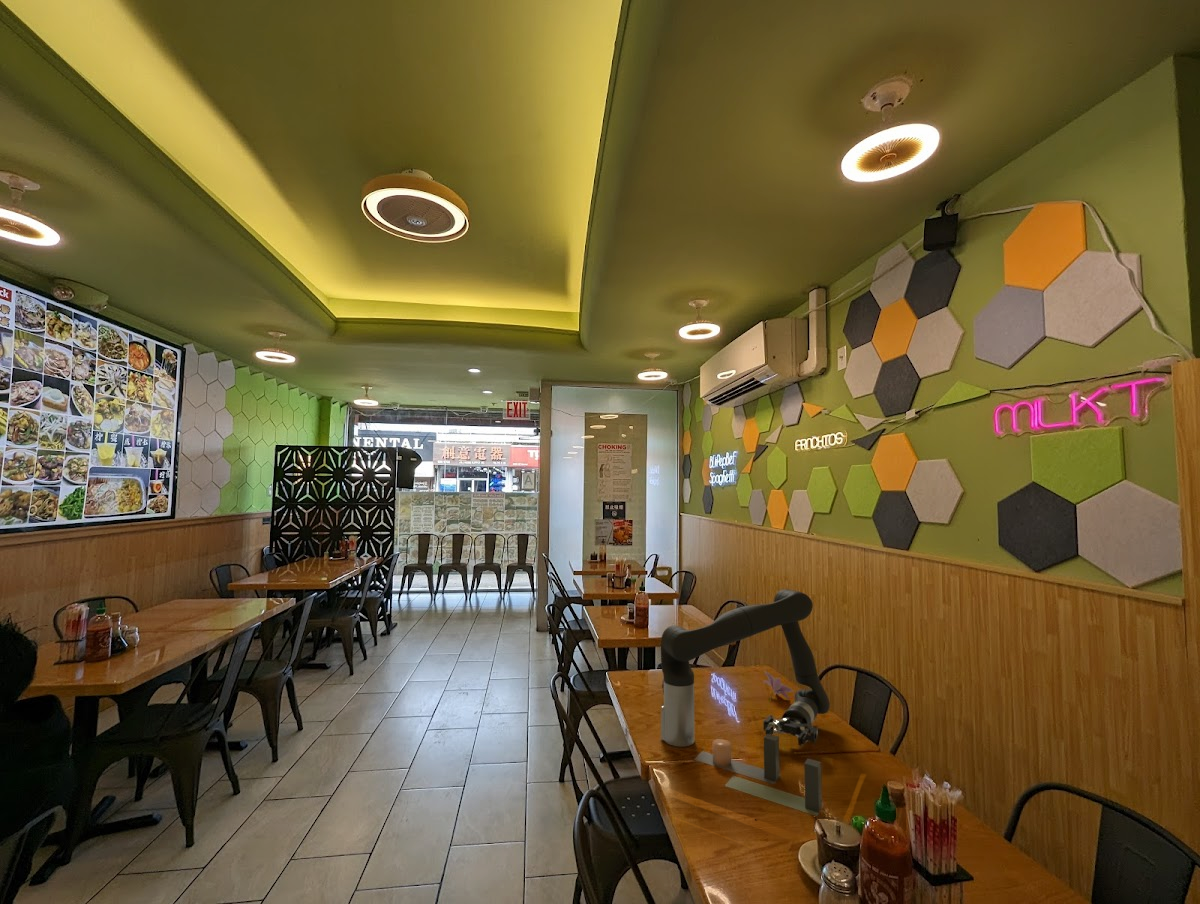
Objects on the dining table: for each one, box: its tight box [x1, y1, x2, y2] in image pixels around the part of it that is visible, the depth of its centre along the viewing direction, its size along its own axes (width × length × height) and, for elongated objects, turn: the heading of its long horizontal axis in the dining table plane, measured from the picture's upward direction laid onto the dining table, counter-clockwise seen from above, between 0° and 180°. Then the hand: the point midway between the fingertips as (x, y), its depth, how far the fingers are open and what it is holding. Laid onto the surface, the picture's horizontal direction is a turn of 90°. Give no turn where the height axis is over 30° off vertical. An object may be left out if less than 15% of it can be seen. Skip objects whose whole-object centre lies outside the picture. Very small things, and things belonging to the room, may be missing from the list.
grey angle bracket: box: [724, 757, 824, 817], centre depth 130 cm, size 22×6×11 cm, turn 56°
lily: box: [762, 670, 795, 702], centre depth 196 cm, size 12×12×10 cm
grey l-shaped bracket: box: [693, 733, 782, 785], centre depth 144 cm, size 22×6×11 cm, turn 56°
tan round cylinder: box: [711, 738, 732, 767], centre depth 146 cm, size 5×5×5 cm
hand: (783, 737), depth 148 cm, fingers open, 8 cm apart
